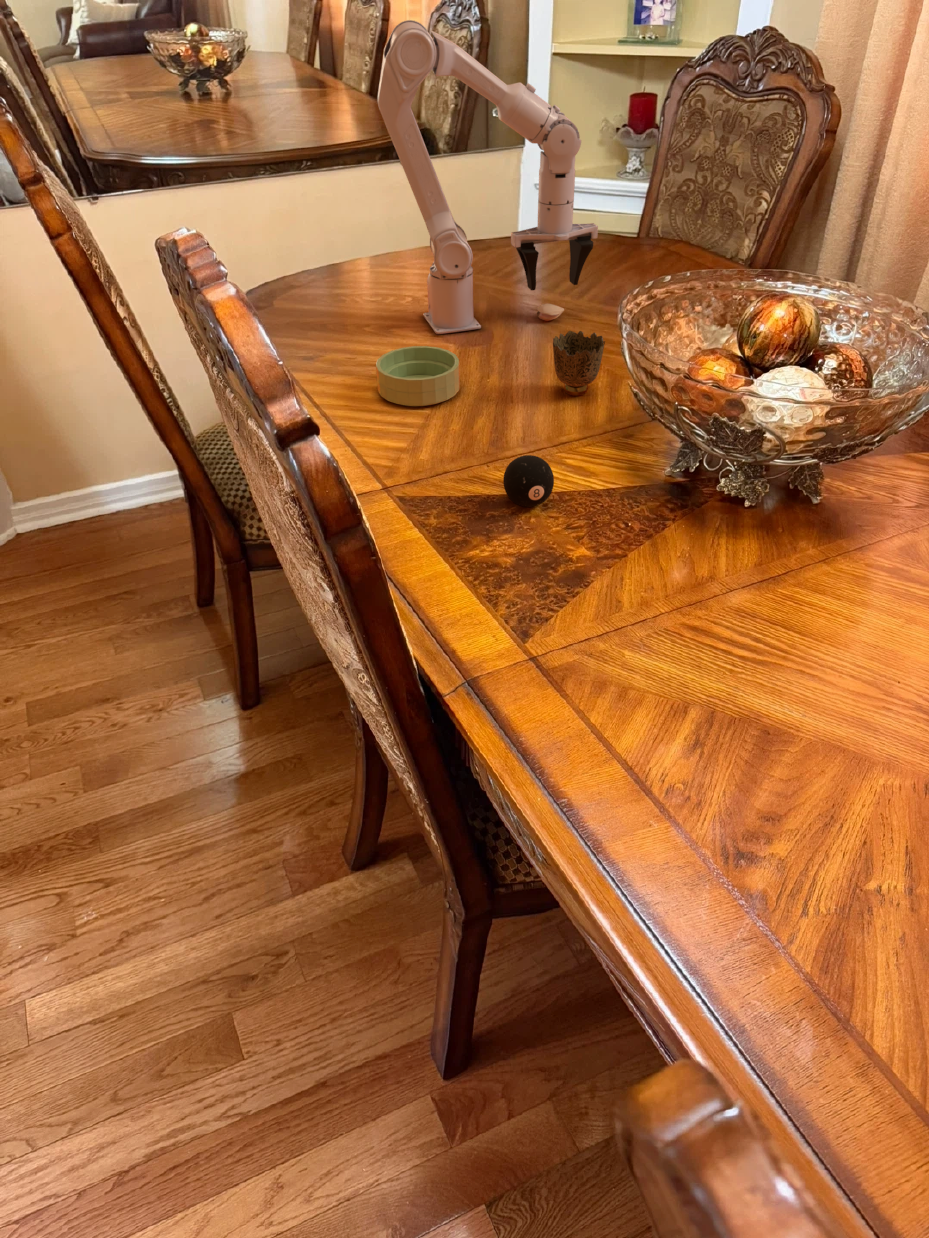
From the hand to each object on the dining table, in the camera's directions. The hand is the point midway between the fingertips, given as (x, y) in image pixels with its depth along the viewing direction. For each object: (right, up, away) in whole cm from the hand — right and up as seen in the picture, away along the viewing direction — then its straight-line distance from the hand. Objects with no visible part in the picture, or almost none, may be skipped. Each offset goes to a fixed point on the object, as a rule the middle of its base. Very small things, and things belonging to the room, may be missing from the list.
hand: (552, 286), depth 152 cm
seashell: (0, -5, +4) cm, 6 cm away
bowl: (-22, -23, -18) cm, 36 cm away
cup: (+1, -23, -19) cm, 30 cm away
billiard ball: (-7, -43, -43) cm, 61 cm away
